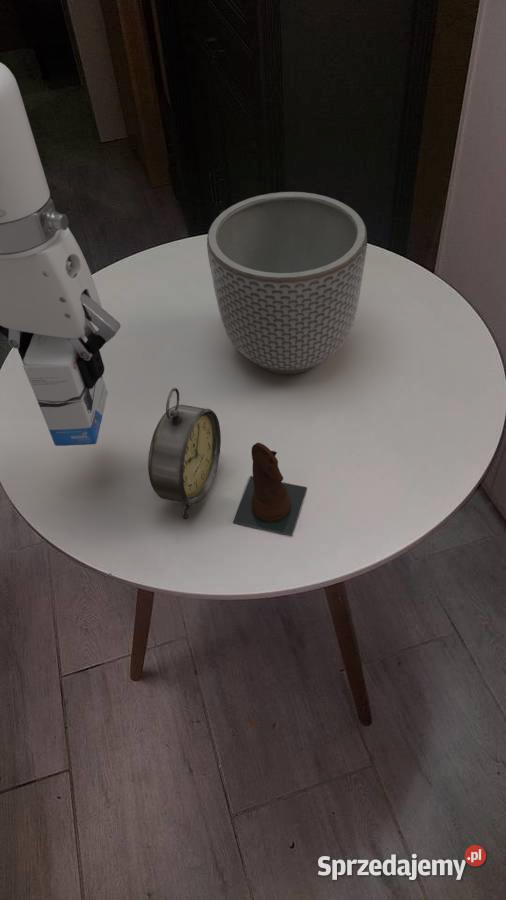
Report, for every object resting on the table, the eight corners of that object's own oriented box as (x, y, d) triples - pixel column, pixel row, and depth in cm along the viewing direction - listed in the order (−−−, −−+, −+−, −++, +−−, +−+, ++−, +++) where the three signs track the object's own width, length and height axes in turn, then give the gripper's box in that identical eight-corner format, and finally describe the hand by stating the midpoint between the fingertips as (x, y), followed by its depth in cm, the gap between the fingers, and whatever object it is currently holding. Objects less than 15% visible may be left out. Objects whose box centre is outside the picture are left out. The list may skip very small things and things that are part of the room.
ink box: (98, 445, 75) (69, 365, 66) (53, 447, 75) (19, 367, 66) (109, 391, 81) (85, 310, 72) (68, 393, 81) (39, 312, 72)
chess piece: (268, 529, 77) (264, 473, 70) (241, 502, 80) (234, 445, 72) (299, 508, 79) (298, 451, 71) (271, 482, 82) (268, 424, 74)
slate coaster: (232, 523, 78) (232, 521, 78) (250, 477, 83) (250, 475, 82) (291, 536, 77) (291, 534, 77) (307, 488, 81) (307, 487, 81)
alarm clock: (194, 530, 78) (173, 434, 66) (151, 519, 79) (123, 423, 67) (227, 460, 85) (214, 361, 72) (187, 451, 86) (167, 352, 74)
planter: (382, 375, 93) (397, 253, 79) (247, 416, 90) (236, 296, 75) (324, 295, 106) (327, 177, 91) (202, 328, 102) (186, 211, 88)
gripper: (120, 209, 60) (154, 364, 73) (-48, 190, 64) (14, 340, 77) (82, 256, 55) (126, 413, 69) (-97, 233, 59) (-22, 385, 73)
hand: (66, 373), depth 73 cm, fingers closed on ink box, 5 cm apart
